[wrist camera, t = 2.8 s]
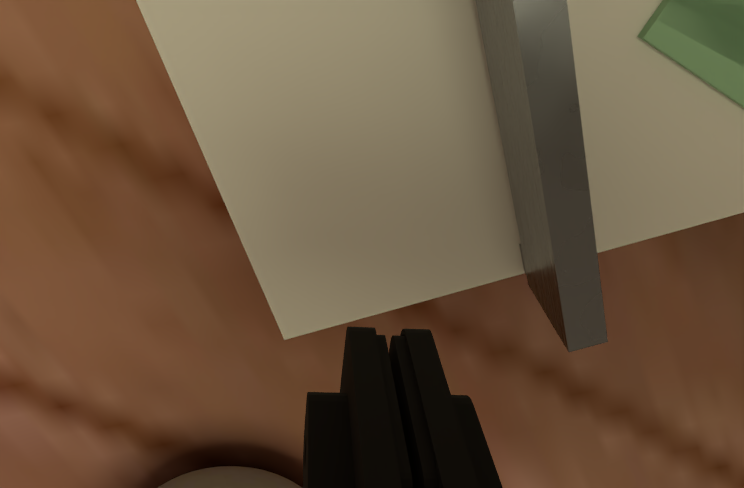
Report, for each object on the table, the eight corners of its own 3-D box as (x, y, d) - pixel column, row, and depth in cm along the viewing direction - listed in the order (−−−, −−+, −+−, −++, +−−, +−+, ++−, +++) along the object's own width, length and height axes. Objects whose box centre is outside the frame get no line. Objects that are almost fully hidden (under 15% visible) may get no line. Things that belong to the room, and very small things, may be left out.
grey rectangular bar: (588, 268, 21) (640, 332, 18) (501, 292, 22) (536, 360, 18) (525, -217, 15) (588, -269, 11) (401, -176, 15) (425, -214, 11)
